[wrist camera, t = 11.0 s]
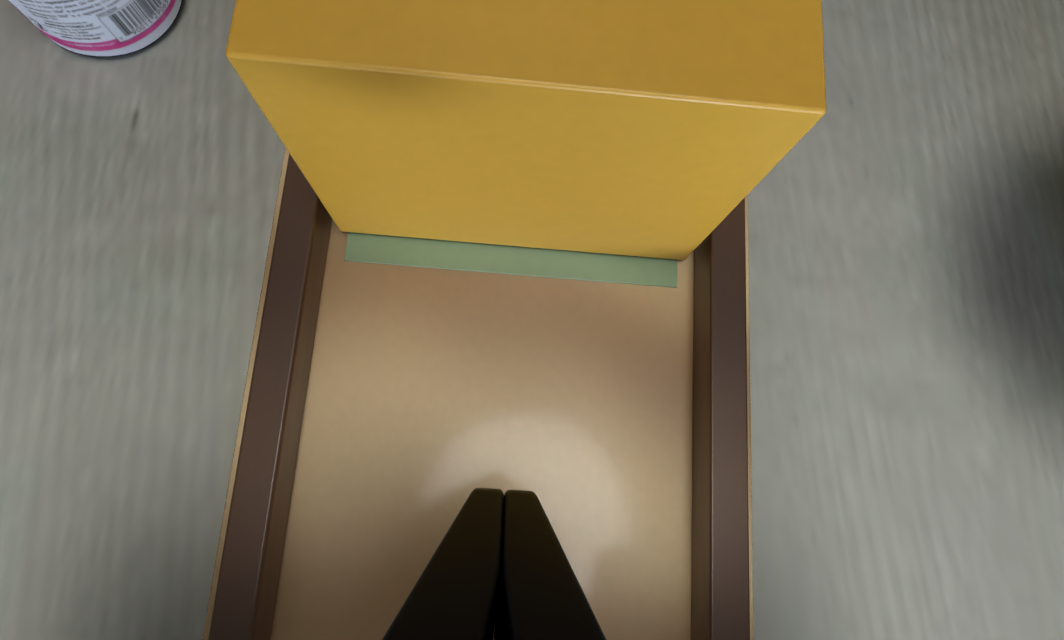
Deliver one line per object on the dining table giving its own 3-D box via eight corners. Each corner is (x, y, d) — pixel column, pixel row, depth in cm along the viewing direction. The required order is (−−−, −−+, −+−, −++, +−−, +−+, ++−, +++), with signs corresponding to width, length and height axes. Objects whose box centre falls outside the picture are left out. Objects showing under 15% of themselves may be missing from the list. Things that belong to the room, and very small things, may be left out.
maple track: (737, 750, 17) (783, 803, 14) (205, 725, 16) (149, 777, 14) (732, 49, 22) (766, -8, 19) (322, 8, 21) (298, -57, 18)
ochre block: (685, 261, 18) (829, 113, 11) (339, 232, 18) (222, 54, 10) (687, 79, 20) (815, -172, 12) (366, 47, 19) (280, -235, 11)
